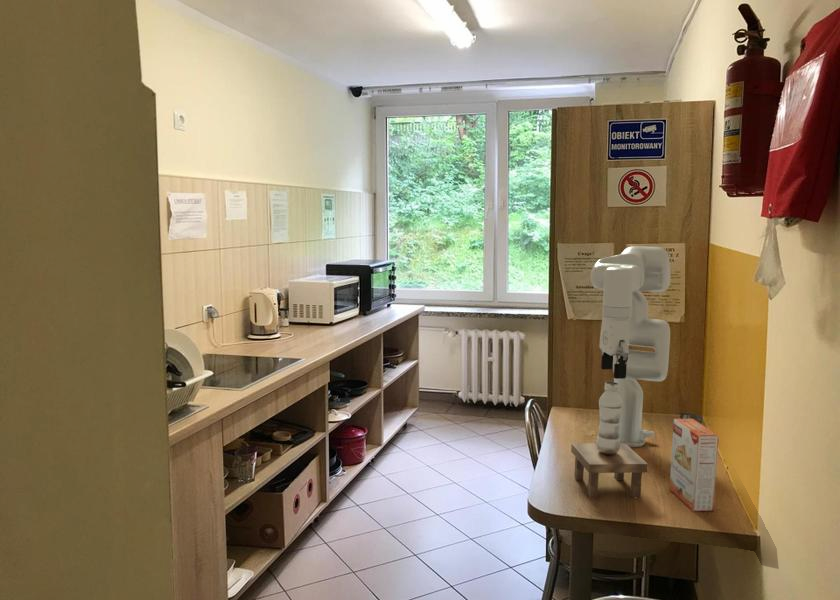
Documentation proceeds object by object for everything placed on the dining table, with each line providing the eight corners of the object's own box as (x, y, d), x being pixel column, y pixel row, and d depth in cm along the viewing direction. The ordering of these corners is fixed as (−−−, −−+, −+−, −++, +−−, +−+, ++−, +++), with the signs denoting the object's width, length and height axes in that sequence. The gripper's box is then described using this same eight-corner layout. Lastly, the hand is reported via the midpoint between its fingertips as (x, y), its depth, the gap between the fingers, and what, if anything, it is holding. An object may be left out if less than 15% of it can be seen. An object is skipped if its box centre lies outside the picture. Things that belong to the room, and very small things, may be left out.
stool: (623, 475, 194) (625, 443, 193) (645, 499, 178) (647, 463, 177) (569, 476, 193) (571, 443, 192) (587, 500, 177) (589, 464, 176)
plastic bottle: (613, 448, 188) (617, 380, 186) (623, 457, 181) (628, 386, 179) (591, 449, 187) (595, 380, 185) (601, 457, 180) (605, 386, 178)
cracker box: (667, 489, 185) (672, 417, 182) (688, 489, 185) (693, 417, 183) (691, 512, 171) (697, 434, 168) (713, 511, 172) (720, 434, 169)
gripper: (592, 307, 187) (589, 366, 190) (614, 318, 170) (611, 382, 173) (618, 307, 188) (614, 365, 190) (642, 318, 171) (638, 382, 173)
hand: (613, 373), depth 182 cm, fingers open, 9 cm apart
